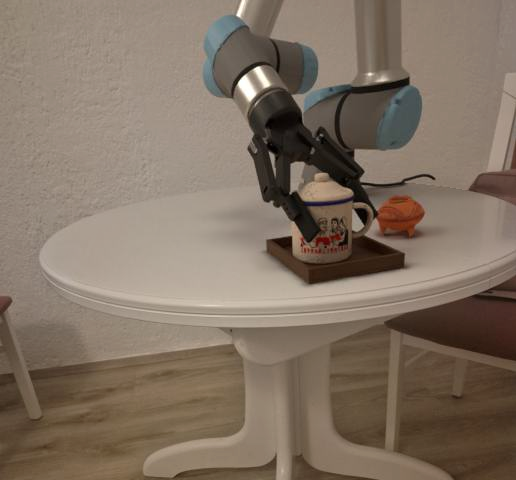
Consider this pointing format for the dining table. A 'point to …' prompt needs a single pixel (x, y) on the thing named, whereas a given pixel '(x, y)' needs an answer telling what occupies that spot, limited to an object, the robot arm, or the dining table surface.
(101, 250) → the dining table surface
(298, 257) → the teacup with lid
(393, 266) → the shallow tray
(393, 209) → the pot
